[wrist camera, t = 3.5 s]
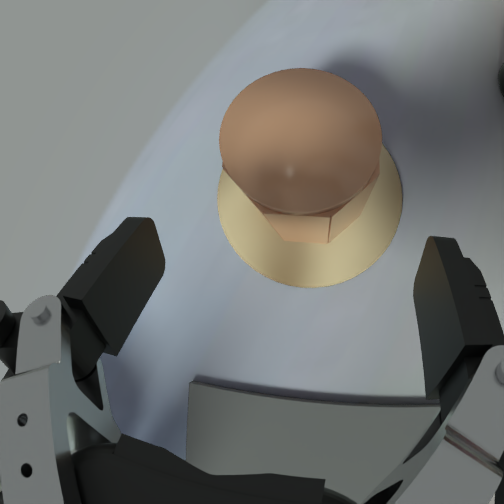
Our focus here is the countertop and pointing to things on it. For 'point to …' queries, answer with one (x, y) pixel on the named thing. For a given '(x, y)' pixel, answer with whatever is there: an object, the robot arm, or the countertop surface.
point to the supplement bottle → (501, 79)
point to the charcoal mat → (301, 437)
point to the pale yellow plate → (313, 254)
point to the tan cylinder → (303, 151)
